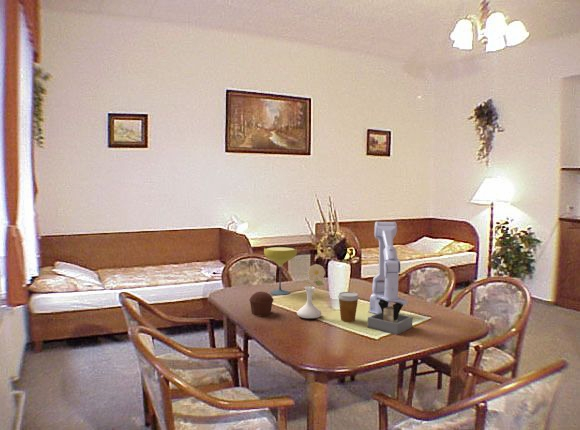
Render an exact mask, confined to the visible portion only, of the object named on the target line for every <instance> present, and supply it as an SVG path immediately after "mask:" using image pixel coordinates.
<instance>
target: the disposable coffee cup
mask: <svg viewBox="0 0 580 430" xmlns="http://www.w3.org/2000/svg"><path fill="white" fill-rule="evenodd" d="M337 299H338V302H339V311H340V312H339V314H340V321H341V322H346V323H351V322H355V320H356V314H357V307H358V300H359V299H360V297H359V293H357V292H353V291H341V292H339V293H338V296H337Z"/></svg>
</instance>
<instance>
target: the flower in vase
mask: <svg viewBox="0 0 580 430" xmlns="http://www.w3.org/2000/svg"><path fill="white" fill-rule="evenodd" d="M307 275H308V278H309V279H310V280H312V281H314V282H313V283H312V284H311V283H310V282H309V281H306V280H304V282H306V283H307V284H308V285H309V286H304V287H303V288H304V289H305V292H306V302H305V304H303V306H301V307H300V308H299V309H298V310H297V312H296V314H297V316H298V317H300V318H303V319H317V318H320V317H321V316H322V311H321V310H320V309H319V308H318V307H317V306H316V305H314V303H313V293H314V290H315V289H316V287H314V285H316V286H319V287H320V286H324V285H325V284H324V282H323V281H322V280H323V279H324V277H325V275H326V270H325V268H324V267H323V266H322V265H320V264H318V263H315V264H312V265H310V266H309V268H308V271H307ZM310 285H311V286H310Z"/></svg>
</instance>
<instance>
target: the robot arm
mask: <svg viewBox="0 0 580 430" xmlns="http://www.w3.org/2000/svg"><path fill="white" fill-rule="evenodd" d="M397 232H398V224H397V222H396V221H375V222H374V239H375V240H378V273H377V274H376V275H375V276H373V278H372V284H371V285H372V293H371V295H370V297H369V311H368V313H371V314H374V315H375V314H377V313H380V312H382V313H383V314H384V308H386V307H391V303H393V304H392V307H393V309H394V320H397V319H398V315H399V314H400V312H401V311H402V308H403V307H404V306H407V305H408V299H405V298H404V299H403V298H401V297H399V278H400V277H399V274H400V273H401V261H400V259H399V257H398V254H397V253H398V251H397V248H396V247H395V246H394V239H395V237H396V235H397Z"/></svg>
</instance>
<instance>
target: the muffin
mask: <svg viewBox="0 0 580 430" xmlns="http://www.w3.org/2000/svg"><path fill="white" fill-rule="evenodd" d="M273 302H274V298H273V296H272V294H271V293H268V292H266V291H257V292H254V293H253V294H252V295H251V297H250V298H249V304H250V308H251V309H250V310H251V311H250V312H251V314H252V315H253V316H258V317H266V316H270V314H271V313H272V307H273Z"/></svg>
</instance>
